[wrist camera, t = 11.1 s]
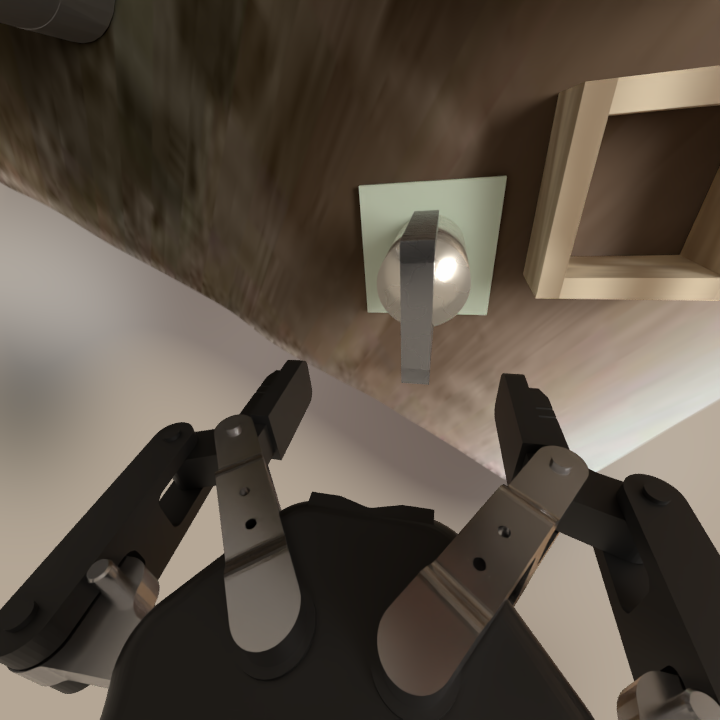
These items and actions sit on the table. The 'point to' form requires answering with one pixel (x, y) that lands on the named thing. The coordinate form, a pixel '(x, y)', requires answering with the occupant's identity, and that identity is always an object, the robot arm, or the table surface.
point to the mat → (453, 200)
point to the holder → (570, 187)
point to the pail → (423, 285)
